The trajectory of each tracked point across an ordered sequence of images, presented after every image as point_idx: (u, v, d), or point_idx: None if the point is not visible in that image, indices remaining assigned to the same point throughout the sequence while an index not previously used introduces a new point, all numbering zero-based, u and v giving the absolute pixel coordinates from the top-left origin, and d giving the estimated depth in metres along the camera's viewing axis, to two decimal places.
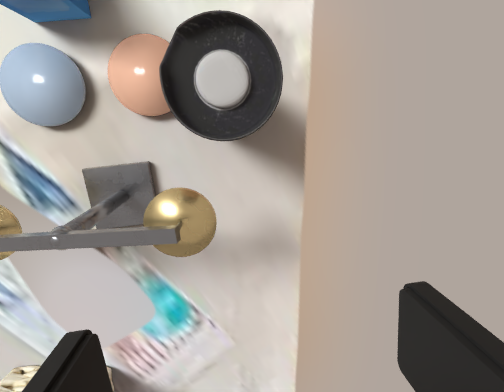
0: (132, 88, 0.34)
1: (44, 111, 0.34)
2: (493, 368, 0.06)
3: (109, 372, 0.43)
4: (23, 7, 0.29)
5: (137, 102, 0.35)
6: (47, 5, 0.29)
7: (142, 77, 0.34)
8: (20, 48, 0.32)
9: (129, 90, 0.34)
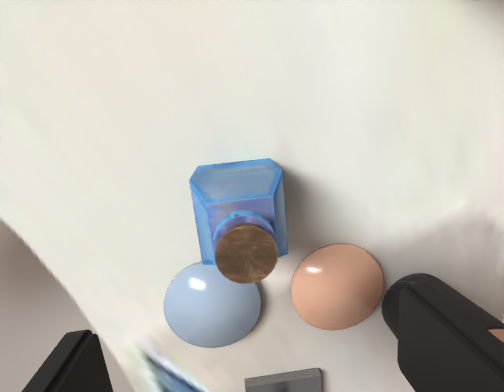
0: (318, 303, 0.28)
1: (211, 333, 0.28)
2: (493, 368, 0.06)
3: None
4: None
5: (321, 317, 0.29)
6: None
7: (331, 291, 0.28)
8: (193, 269, 0.26)
9: (314, 305, 0.28)
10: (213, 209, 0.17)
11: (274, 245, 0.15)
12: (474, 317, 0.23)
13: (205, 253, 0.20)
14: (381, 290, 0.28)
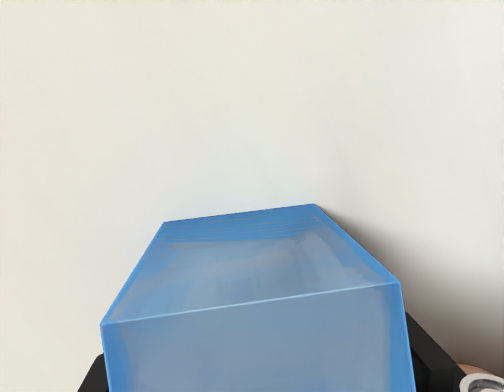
0: None
1: None
2: None
3: None
4: None
5: None
6: None
7: None
8: None
9: None
10: None
11: None
12: None
13: None
14: None
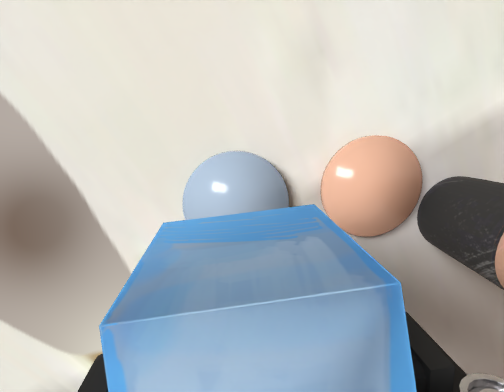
0: (350, 204, 0.26)
1: None
2: None
3: None
4: None
5: (354, 220, 0.26)
6: None
7: (366, 190, 0.26)
8: (216, 158, 0.24)
9: (346, 206, 0.26)
10: None
11: None
12: None
13: None
14: (419, 190, 0.26)
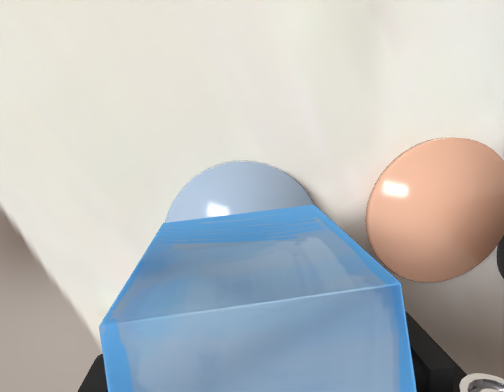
0: (410, 237, 0.18)
1: None
2: None
3: None
4: None
5: (413, 261, 0.18)
6: None
7: (432, 217, 0.17)
8: (212, 173, 0.16)
9: (403, 241, 0.18)
10: None
11: None
12: None
13: None
14: None
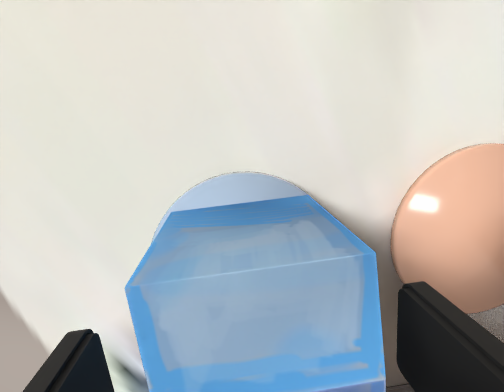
0: (443, 262, 0.15)
1: None
2: (491, 367, 0.06)
3: None
4: None
5: (446, 289, 0.15)
6: None
7: (471, 238, 0.15)
8: (208, 187, 0.13)
9: (436, 266, 0.15)
10: None
11: None
12: None
13: None
14: None
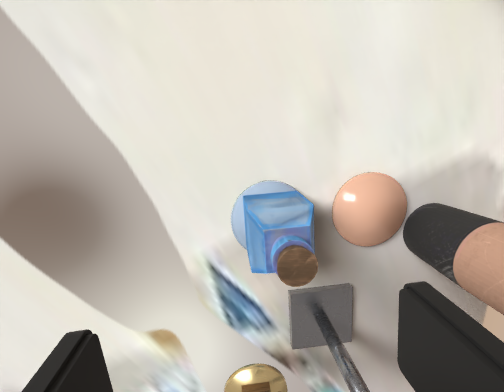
0: (354, 221, 0.35)
1: None
2: (493, 368, 0.06)
3: None
4: None
5: (356, 234, 0.35)
6: None
7: (365, 211, 0.34)
8: (257, 186, 0.33)
9: (351, 223, 0.35)
10: (268, 234, 0.25)
11: (316, 261, 0.22)
12: (481, 218, 0.29)
13: (256, 264, 0.27)
14: (405, 212, 0.35)
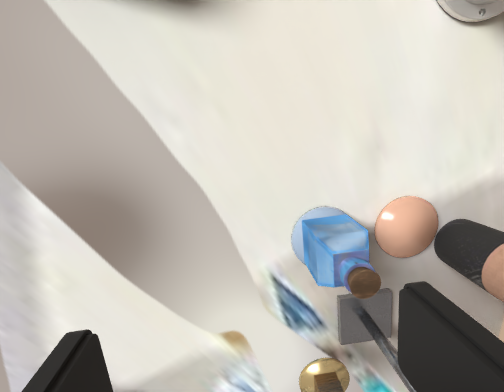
0: (393, 237, 0.41)
1: None
2: (493, 368, 0.06)
3: None
4: None
5: (395, 248, 0.42)
6: None
7: (403, 229, 0.41)
8: (314, 212, 0.39)
9: (391, 239, 0.41)
10: (336, 256, 0.31)
11: (379, 279, 0.29)
12: None
13: (323, 279, 0.34)
14: (436, 228, 0.41)
